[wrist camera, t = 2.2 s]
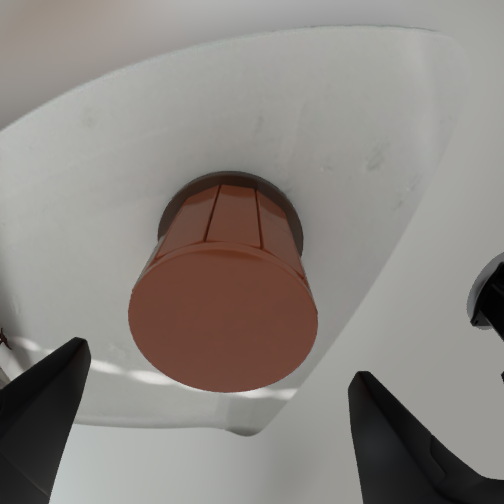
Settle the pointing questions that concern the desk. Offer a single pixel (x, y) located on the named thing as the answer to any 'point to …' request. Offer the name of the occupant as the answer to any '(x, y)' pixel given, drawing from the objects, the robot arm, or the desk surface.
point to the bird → (0, 377)
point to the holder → (240, 181)
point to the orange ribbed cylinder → (225, 295)
